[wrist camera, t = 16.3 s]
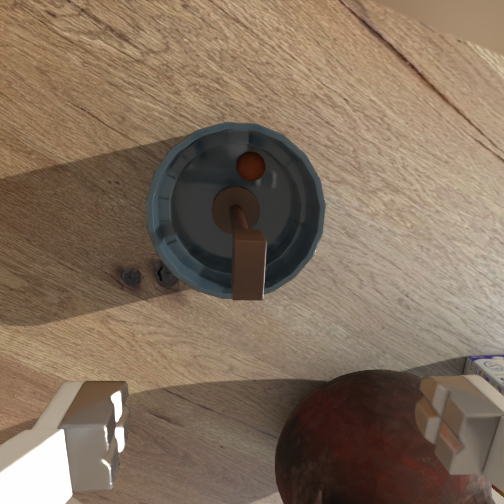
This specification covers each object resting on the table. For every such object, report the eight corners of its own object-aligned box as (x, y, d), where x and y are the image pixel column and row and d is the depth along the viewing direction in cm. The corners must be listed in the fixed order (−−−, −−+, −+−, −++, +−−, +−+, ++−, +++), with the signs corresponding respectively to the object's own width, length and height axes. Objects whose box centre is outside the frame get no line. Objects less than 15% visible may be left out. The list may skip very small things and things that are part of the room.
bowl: (155, 122, 36) (142, 117, 30) (315, 130, 38) (334, 128, 32) (160, 275, 41) (150, 298, 35) (302, 277, 43) (315, 299, 37)
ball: (230, 177, 35) (231, 152, 36) (247, 188, 38) (247, 164, 39) (254, 168, 34) (254, 142, 35) (271, 181, 36) (270, 156, 37)
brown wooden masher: (212, 184, 38) (203, 225, 18) (259, 186, 38) (298, 227, 19) (211, 230, 39) (202, 313, 20) (257, 231, 40) (291, 313, 20)
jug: (319, 313, 45) (431, 505, 21) (469, 375, 50) (698, 587, 26) (237, 456, 50) (252, 734, 26) (379, 499, 55) (499, 765, 32)
